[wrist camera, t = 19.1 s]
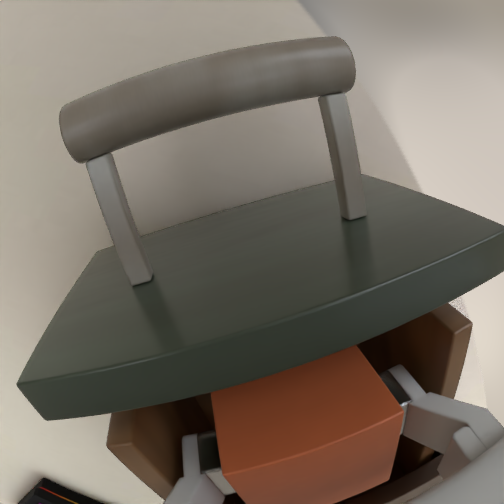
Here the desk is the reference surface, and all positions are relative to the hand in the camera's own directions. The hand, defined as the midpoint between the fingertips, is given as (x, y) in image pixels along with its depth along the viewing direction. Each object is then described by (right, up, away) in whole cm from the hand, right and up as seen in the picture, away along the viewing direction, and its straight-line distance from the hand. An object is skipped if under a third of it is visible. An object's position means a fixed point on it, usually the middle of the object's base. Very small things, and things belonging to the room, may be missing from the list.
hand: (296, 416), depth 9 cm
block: (0, +1, +2) cm, 2 cm away
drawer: (-1, +3, +5) cm, 6 cm away
